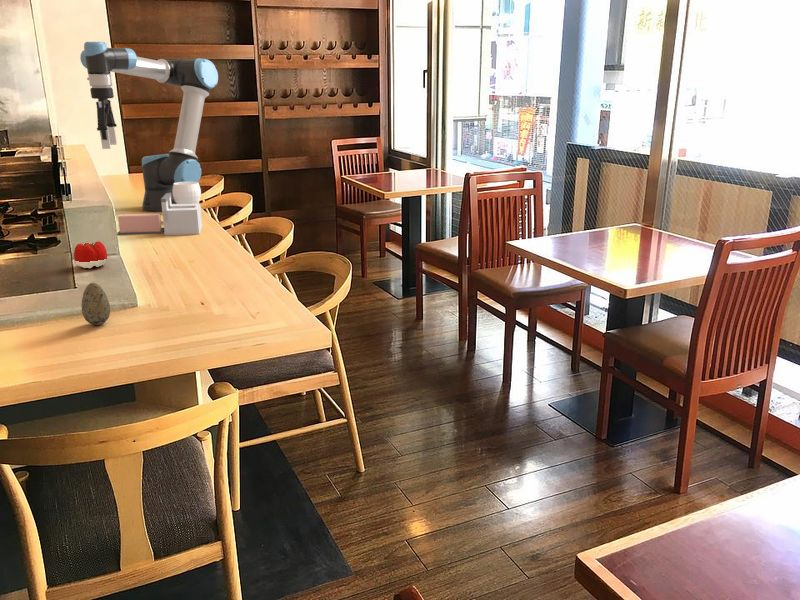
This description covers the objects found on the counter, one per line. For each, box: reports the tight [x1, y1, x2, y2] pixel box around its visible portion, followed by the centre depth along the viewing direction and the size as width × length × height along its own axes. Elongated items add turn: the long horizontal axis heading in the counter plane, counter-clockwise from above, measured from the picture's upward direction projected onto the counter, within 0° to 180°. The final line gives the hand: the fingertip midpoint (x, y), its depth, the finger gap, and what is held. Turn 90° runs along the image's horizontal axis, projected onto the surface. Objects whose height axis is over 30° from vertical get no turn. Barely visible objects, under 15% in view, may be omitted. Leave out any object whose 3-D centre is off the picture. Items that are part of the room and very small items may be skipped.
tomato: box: [73, 240, 108, 262], centre depth 202 cm, size 9×9×8 cm
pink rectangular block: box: [117, 212, 163, 233], centre depth 248 cm, size 4×14×6 cm, turn 101°
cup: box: [172, 181, 202, 204], centre depth 267 cm, size 11×11×15 cm
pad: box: [117, 226, 165, 236], centre depth 250 cm, size 8×16×1 cm, turn 101°
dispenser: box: [161, 193, 203, 236], centre depth 250 cm, size 13×12×13 cm
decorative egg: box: [81, 282, 111, 326], centre depth 155 cm, size 6×6×10 cm
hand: (109, 146), depth 252 cm, fingers open, 13 cm apart
